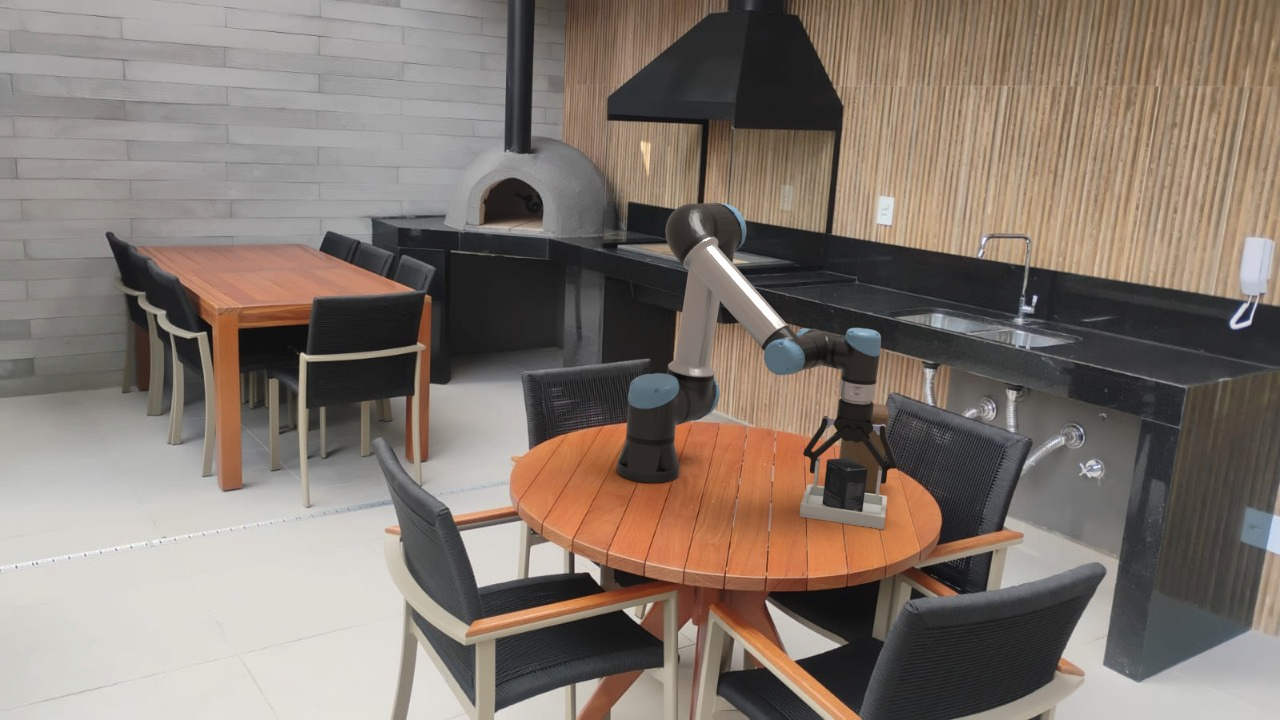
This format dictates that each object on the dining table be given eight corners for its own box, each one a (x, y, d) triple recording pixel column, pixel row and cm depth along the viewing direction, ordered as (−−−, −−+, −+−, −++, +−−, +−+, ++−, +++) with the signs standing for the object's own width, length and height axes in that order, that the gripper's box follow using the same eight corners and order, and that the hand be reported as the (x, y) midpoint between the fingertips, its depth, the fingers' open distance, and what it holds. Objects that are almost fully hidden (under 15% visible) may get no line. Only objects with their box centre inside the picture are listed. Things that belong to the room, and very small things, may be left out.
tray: (799, 516, 216) (800, 504, 215) (806, 495, 229) (807, 484, 228) (883, 529, 211) (885, 517, 211) (885, 507, 225) (887, 496, 224)
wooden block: (879, 496, 232) (889, 414, 228) (836, 490, 234) (845, 409, 229) (878, 482, 242) (888, 403, 237) (836, 477, 243) (845, 399, 239)
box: (862, 513, 218) (868, 468, 215) (841, 516, 215) (846, 470, 213) (842, 501, 225) (847, 456, 222) (821, 503, 222) (826, 458, 220)
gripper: (797, 396, 214) (787, 488, 219) (915, 411, 208) (903, 506, 213) (801, 388, 221) (791, 478, 226) (915, 403, 215) (903, 494, 220)
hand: (845, 492), depth 219 cm, fingers open, 13 cm apart
